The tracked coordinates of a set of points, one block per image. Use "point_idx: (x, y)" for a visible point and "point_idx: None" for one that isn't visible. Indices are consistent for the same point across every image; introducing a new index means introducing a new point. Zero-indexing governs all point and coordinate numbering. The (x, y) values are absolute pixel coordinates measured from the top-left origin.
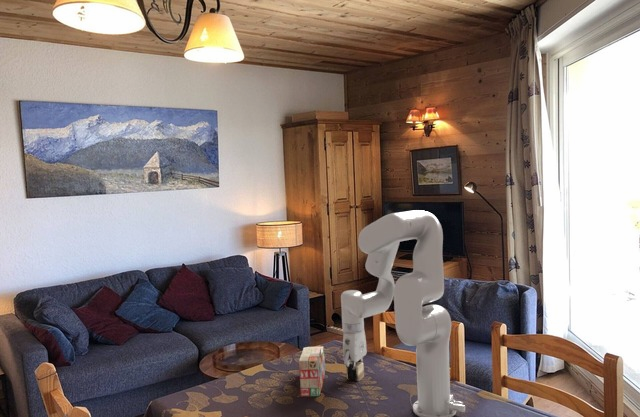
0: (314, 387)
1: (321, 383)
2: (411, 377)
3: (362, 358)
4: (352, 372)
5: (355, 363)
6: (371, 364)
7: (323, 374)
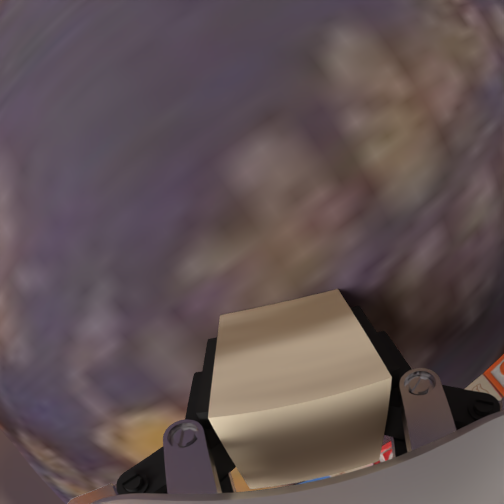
0: None
1: (484, 392)
2: (28, 10)
3: (170, 468)
4: (407, 366)
5: (289, 454)
6: (40, 373)
7: (374, 464)
